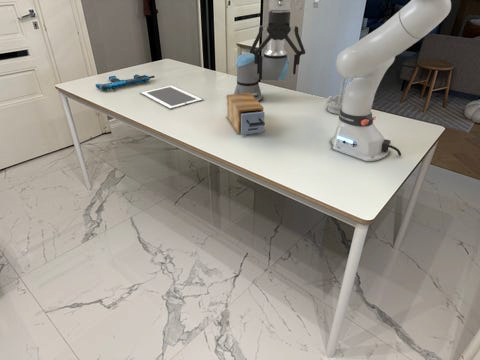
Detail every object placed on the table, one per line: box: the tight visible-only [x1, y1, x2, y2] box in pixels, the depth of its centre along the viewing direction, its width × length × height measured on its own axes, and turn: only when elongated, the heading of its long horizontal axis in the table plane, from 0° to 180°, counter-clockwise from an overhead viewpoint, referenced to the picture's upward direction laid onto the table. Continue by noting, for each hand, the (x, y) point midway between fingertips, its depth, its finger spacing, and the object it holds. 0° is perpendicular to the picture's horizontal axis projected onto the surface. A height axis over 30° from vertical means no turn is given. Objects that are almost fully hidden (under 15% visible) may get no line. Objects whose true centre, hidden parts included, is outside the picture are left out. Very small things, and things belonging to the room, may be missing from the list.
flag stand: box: [325, 46, 350, 115], centre depth 162 cm, size 13×13×30 cm
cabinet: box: [226, 93, 264, 135], centre depth 153 cm, size 20×11×11 cm, turn 16°
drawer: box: [240, 110, 266, 136], centre depth 148 cm, size 24×10×9 cm, turn 16°
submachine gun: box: [94, 74, 155, 92], centre depth 207 cm, size 34×4×25 cm
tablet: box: [140, 85, 204, 110], centre depth 187 cm, size 32×20×1 cm, turn 41°
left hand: (276, 73), depth 129 cm, fingers open, 13 cm apart
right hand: (307, 8), depth 134 cm, fingers open, 8 cm apart
